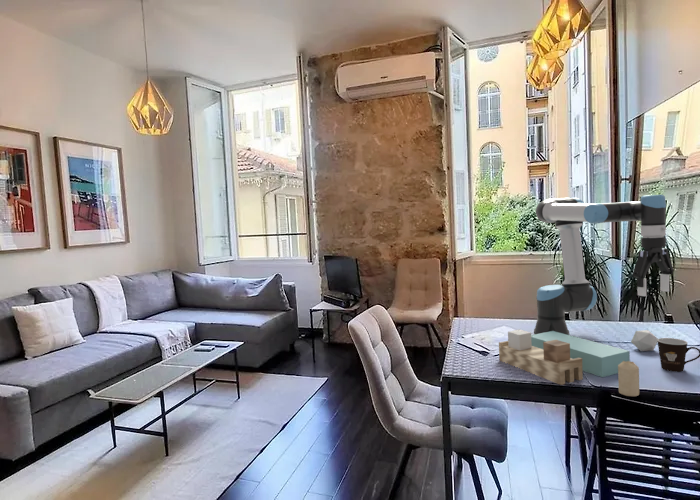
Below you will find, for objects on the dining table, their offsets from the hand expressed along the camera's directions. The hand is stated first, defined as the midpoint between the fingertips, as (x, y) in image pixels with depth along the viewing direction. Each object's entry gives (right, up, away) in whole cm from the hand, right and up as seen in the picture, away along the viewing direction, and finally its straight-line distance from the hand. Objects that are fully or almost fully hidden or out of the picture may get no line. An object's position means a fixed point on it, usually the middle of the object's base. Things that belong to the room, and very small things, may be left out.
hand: (653, 293), depth 162 cm
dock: (-26, -27, +7) cm, 38 cm away
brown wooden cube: (-40, -22, -9) cm, 47 cm away
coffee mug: (+2, -26, -9) cm, 28 cm away
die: (+7, -25, +15) cm, 30 cm away
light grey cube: (-47, -22, +8) cm, 52 cm away
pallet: (-43, -29, 0) cm, 52 cm away
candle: (-25, -29, -25) cm, 46 cm away
